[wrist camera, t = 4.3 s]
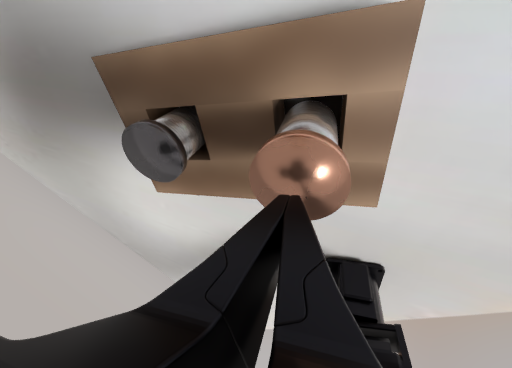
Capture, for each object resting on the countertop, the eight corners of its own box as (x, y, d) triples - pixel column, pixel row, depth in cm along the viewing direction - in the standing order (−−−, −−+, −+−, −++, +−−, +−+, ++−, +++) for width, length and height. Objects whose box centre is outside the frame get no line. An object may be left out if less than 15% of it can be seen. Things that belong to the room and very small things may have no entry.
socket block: (369, 177, 19) (376, 207, 16) (178, 171, 25) (157, 192, 22) (402, 4, 12) (426, -4, 9) (131, 51, 18) (91, 57, 15)
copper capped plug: (340, 156, 15) (345, 225, 10) (279, 156, 17) (255, 216, 11) (346, 90, 13) (357, 136, 8) (274, 96, 14) (241, 138, 9)
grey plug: (226, 142, 20) (189, 183, 15) (186, 143, 22) (139, 181, 16) (214, 93, 18) (166, 122, 13) (170, 97, 19) (110, 124, 14)
